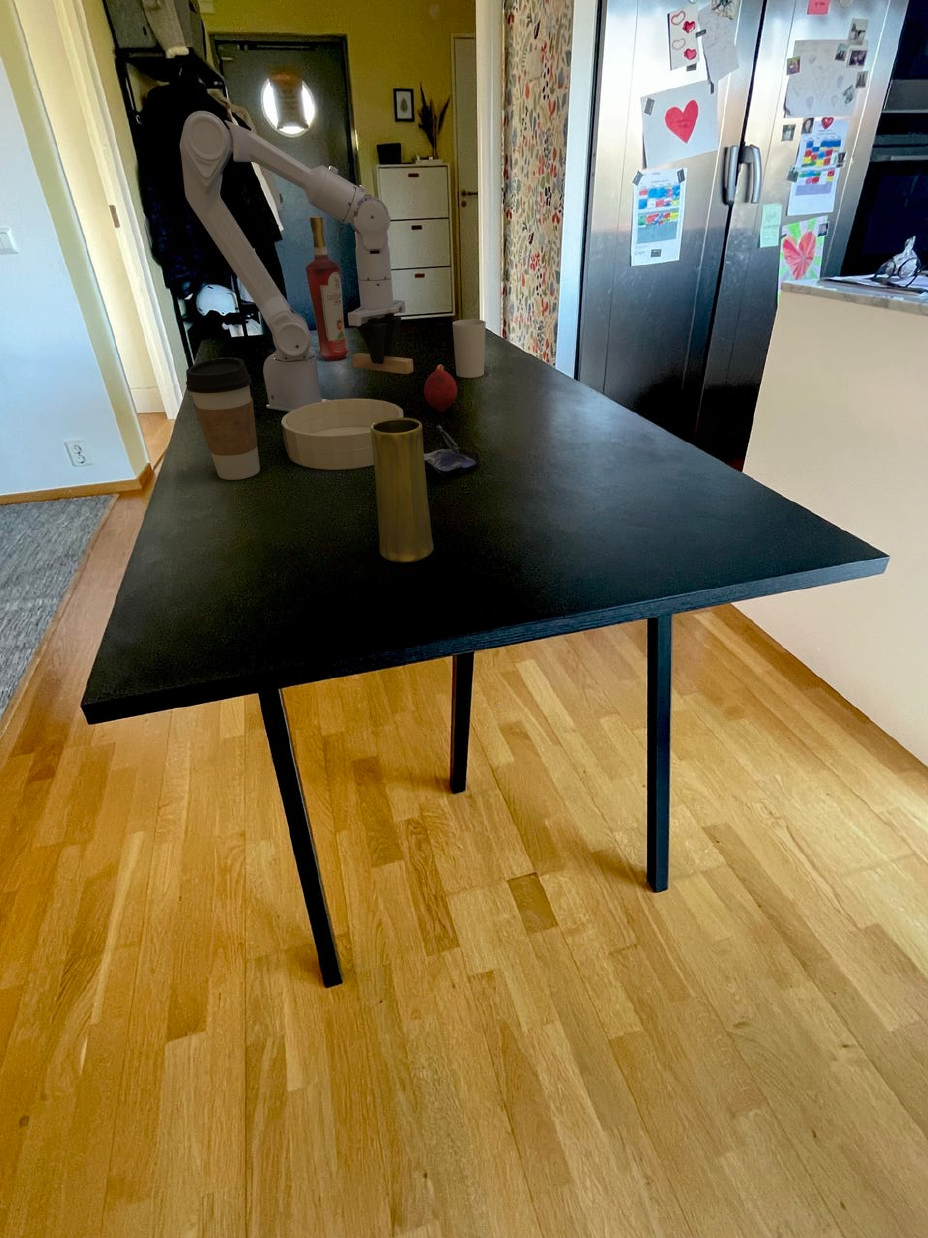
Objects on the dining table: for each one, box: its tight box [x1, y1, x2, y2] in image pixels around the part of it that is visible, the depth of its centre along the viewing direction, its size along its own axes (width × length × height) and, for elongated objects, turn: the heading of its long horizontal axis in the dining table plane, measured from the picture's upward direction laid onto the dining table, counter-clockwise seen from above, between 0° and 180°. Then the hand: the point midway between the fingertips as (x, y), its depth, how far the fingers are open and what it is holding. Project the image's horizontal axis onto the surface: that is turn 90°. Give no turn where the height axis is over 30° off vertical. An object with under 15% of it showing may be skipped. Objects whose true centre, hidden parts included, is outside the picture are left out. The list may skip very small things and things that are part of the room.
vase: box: [371, 417, 435, 564], centre depth 71 cm, size 6×6×14 cm
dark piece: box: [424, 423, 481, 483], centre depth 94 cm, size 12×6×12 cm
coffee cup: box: [185, 356, 261, 481], centre depth 92 cm, size 8×8×15 cm
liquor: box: [305, 216, 349, 361], centre depth 146 cm, size 7×7×28 cm
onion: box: [423, 364, 458, 413], centre depth 115 cm, size 6×6×8 cm
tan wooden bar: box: [351, 352, 414, 375], centre depth 121 cm, size 12×2×2 cm, turn 61°
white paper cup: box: [452, 318, 487, 379], centre depth 136 cm, size 7×7×10 cm
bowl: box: [280, 398, 405, 471], centre depth 102 cm, size 18×18×5 cm
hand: (382, 361), depth 121 cm, fingers closed on tan wooden bar, 2 cm apart
